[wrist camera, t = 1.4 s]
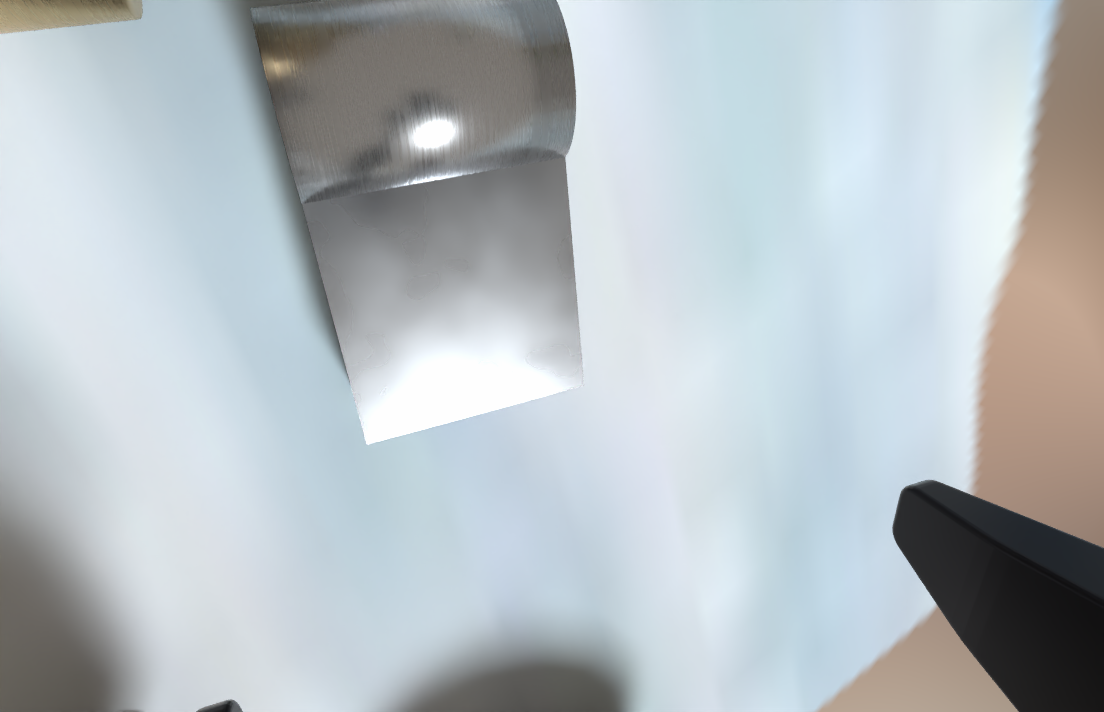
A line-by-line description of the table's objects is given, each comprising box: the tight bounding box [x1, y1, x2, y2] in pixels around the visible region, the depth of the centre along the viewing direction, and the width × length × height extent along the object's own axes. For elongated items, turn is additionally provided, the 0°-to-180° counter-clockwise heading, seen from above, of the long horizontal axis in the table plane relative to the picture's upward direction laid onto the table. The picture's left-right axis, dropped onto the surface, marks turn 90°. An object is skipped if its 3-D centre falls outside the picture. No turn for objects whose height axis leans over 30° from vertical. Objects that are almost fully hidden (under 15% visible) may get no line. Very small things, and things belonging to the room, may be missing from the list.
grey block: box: [250, 0, 584, 445], centre depth 17 cm, size 10×6×4 cm, turn 6°
